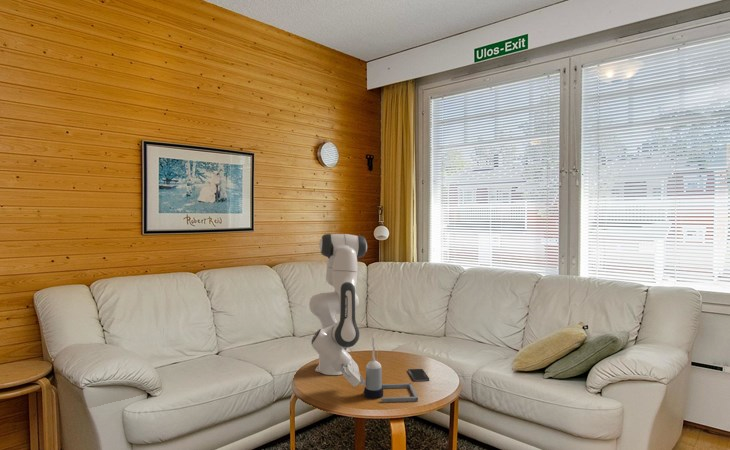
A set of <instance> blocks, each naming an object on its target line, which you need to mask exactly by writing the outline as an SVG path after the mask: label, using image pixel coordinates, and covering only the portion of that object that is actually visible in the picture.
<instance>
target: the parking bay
mask: <svg viewBox="0 0 730 450" xmlns="http://www.w3.org/2000/svg"><path fill="white" fill-rule="evenodd" d="M382 387H383V390H384V389H409V391H410V393H411V395H412V396H402V397H400V396H398V397H397V396H395V397H394V396H393V397H381V400H380V401H381V403H403V402H404V403H405V402H407V401H408V402H409V403H410V402H418V401H419V397H418V395H417V392H416V391H415V389H414V387H413V385H412V383H383V384H382Z"/></svg>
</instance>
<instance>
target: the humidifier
mask: <svg viewBox="0 0 730 450" xmlns="http://www.w3.org/2000/svg"><path fill="white" fill-rule="evenodd" d="M371 341H372V345H371V346H372V352H371V355H372V360H370V361H369V362H367V364H366V366H365V383H366V384H365V387H364V389H363V394H364V395H363V396H364V397H365V398H367V399H370V400H375V399H376V400H377V399H380V398H384V397H383V396H384V389H383V387H382V381H383V380H382V379H383V378H382V377H383V373H382V372H383V371H382V364H381V363H380V362H379V361H378V360H377V359H376V358H375V350H376V348H377V352H376V353H377V354H376V355H378V352H379V348H378V347H376V346H375V336H372V340H371Z"/></svg>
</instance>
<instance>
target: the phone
mask: <svg viewBox="0 0 730 450" xmlns="http://www.w3.org/2000/svg"><path fill="white" fill-rule="evenodd" d="M407 373H408V375H409V376H410V378H411V380H412V382H429V381H430V377H429V376H428V374H427V373H426V372H425V370H424V369H423V368H411V369H410V368H409V369H407Z"/></svg>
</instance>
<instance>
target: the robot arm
mask: <svg viewBox="0 0 730 450" xmlns="http://www.w3.org/2000/svg"><path fill="white" fill-rule="evenodd" d="M318 244H319V245H318V247H319V252H320V254H322V256H324V257H326V258H327V263H326V273H325V280H326V282H327V284H328V285H330V286H332V287H333V288H334V291H331V292H330V291H329V292H320V293H316V294H313V295H312V296H311V298H310V300H309V305H308V306H309V310H310V312H311V313H312V314H313V315H314V316H315V317H316V318H318V320H319V321H320V323H321V327H322V328H319V329H318V330H317V331H316V332H315V334H313V336H312V339H311V345H312V348H313V349H314V350H315V352H316V353H317V354H318V358H319V359H318V365H317V366H316V368H315V370H314V371H315V373H316V372H317V373H321V374H323V375H326V376H339V375H343V377H344V379H345V380H346V381H348V382H349V384H350V385H351V386H353V388H356V387H357V386H358V385H361V386H362V387H364V386H366V379H364V378H363V377H362V375H361V374H360V368H359V365H358V364H357V362H356V361H355V360H354V359H353V357H352V355H350V353H349V351H348V350H347V348H351V347H353V346H355V345H356V344H357V342H358V341H359V339H360V329H359V327H358V325H357V320H356V310H357V309H358V308H359V304H360V303H359V302H360V299H359V297H358V294H357V293H356V291H357V284H358V271H359V269H358V266H359V265H358V259H359V258H360V259H361V258H363V257H364V256H365V255H366V253H367V250H368V243H367V240H366V237H364V236H362V235H359V234H357V235H355V234H348V233H344V234H343V233H332V234H331V233H326V234H323V235H322V236H321V239H320V241H319V243H318ZM337 315H339V320H337V319H336V316H337Z"/></svg>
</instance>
